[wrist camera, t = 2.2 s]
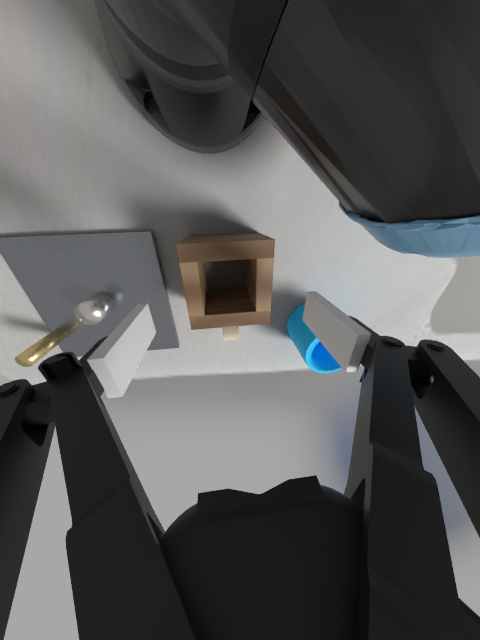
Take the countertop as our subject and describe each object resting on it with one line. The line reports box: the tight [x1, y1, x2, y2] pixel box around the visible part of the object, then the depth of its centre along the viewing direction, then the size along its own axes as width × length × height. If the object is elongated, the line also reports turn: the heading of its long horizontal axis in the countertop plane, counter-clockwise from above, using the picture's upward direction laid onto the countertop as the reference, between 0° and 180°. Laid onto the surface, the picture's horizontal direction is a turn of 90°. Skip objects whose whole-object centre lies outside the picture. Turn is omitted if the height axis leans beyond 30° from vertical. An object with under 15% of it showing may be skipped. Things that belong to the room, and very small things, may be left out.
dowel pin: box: [15, 330, 66, 367], centre depth 26 cm, size 2×2×6 cm
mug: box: [287, 304, 342, 373], centre depth 30 cm, size 12×8×8 cm
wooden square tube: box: [176, 233, 275, 340], centre depth 25 cm, size 14×10×8 cm
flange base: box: [0, 231, 179, 357], centre depth 26 cm, size 18×18×4 cm
